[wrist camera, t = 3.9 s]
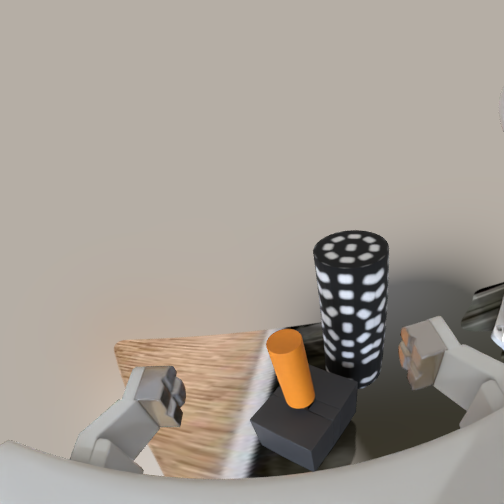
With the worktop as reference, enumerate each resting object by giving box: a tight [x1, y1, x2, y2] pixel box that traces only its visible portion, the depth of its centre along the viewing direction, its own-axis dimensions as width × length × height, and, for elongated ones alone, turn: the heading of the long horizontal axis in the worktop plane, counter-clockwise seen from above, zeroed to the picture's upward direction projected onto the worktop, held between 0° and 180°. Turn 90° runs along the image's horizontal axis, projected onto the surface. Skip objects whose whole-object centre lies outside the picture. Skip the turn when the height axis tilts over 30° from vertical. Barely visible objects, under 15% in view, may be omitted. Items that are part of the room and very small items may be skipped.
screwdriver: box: [266, 329, 315, 410], centre depth 29 cm, size 3×3×17 cm
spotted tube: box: [313, 230, 389, 389], centre depth 36 cm, size 8×8×20 cm
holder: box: [250, 364, 358, 472], centre depth 32 cm, size 10×8×7 cm
